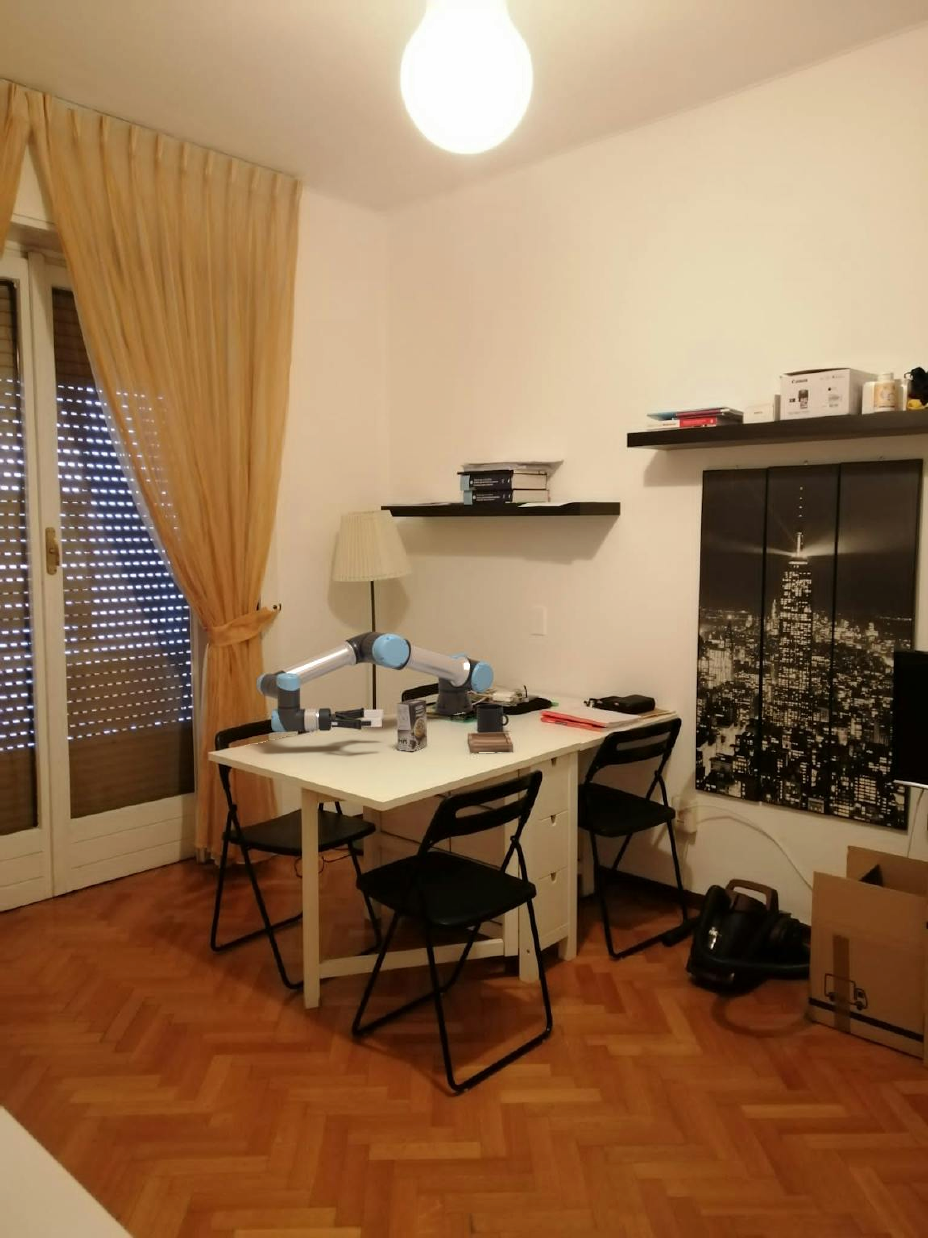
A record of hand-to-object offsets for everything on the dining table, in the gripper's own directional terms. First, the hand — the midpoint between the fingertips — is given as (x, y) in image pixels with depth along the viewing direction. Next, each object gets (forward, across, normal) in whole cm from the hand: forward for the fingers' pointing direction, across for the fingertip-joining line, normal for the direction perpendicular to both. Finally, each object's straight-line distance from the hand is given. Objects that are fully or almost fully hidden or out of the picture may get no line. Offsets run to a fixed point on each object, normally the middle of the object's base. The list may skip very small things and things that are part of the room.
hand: (382, 717), depth 305 cm
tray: (+36, +1, -11) cm, 38 cm away
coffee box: (+10, 0, -11) cm, 15 cm away
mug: (+39, -20, -11) cm, 45 cm away
